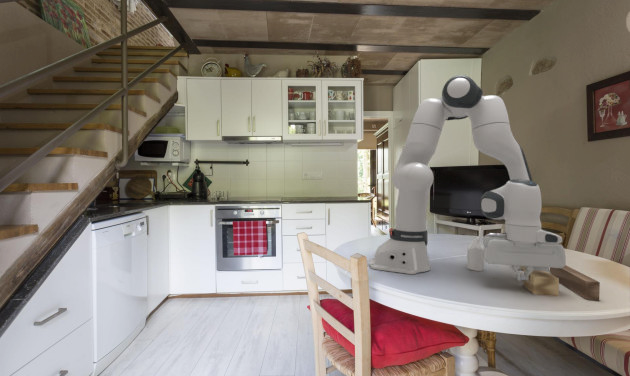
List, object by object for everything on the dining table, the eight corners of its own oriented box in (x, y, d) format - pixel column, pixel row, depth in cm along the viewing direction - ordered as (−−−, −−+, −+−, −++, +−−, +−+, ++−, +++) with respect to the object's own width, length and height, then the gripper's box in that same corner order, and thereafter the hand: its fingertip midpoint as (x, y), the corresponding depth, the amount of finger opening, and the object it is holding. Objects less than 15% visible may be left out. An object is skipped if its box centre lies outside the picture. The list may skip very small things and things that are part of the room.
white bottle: (464, 234, 112) (480, 235, 111) (464, 266, 112) (480, 266, 111) (471, 237, 106) (487, 238, 105) (470, 270, 106) (487, 271, 105)
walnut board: (585, 299, 80) (586, 281, 80) (549, 276, 99) (549, 261, 99) (599, 300, 79) (599, 282, 79) (560, 277, 98) (560, 262, 98)
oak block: (533, 294, 84) (534, 276, 84) (523, 285, 91) (523, 269, 91) (558, 296, 83) (558, 278, 82) (546, 287, 89) (546, 271, 89)
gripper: (486, 234, 87) (486, 280, 88) (569, 237, 82) (568, 287, 82) (480, 230, 93) (480, 274, 94) (557, 233, 88) (557, 279, 88)
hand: (522, 280), depth 88 cm, fingers closed
